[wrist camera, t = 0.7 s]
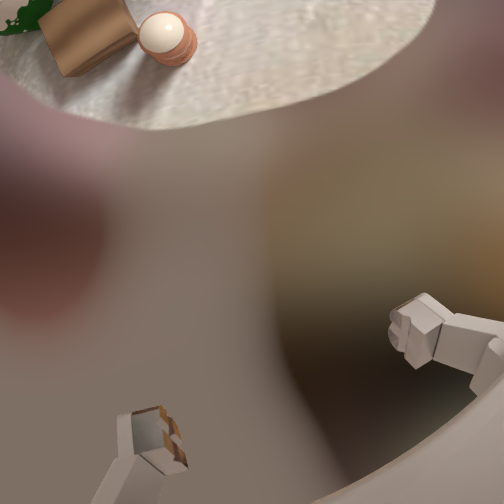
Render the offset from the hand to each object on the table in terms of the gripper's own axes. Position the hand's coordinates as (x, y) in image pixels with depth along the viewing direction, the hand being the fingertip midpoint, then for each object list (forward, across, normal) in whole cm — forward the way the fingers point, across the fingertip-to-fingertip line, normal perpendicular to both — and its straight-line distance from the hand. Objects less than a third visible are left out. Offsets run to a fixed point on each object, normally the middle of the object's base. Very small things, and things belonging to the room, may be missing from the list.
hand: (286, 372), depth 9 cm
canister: (+40, -4, -18) cm, 44 cm away
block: (+42, +6, -25) cm, 49 cm away
